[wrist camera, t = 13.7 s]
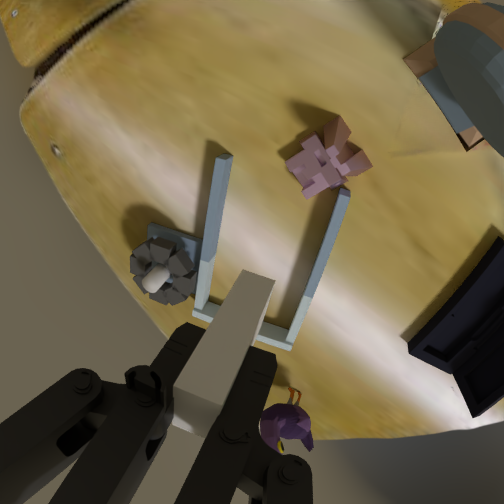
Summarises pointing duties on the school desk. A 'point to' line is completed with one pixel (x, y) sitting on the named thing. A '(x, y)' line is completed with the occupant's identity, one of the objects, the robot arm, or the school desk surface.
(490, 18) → the alarm clock
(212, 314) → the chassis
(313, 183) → the letters
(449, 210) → the school desk surface
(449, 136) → the school desk surface
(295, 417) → the toy
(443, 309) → the black laptop
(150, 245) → the wheel
